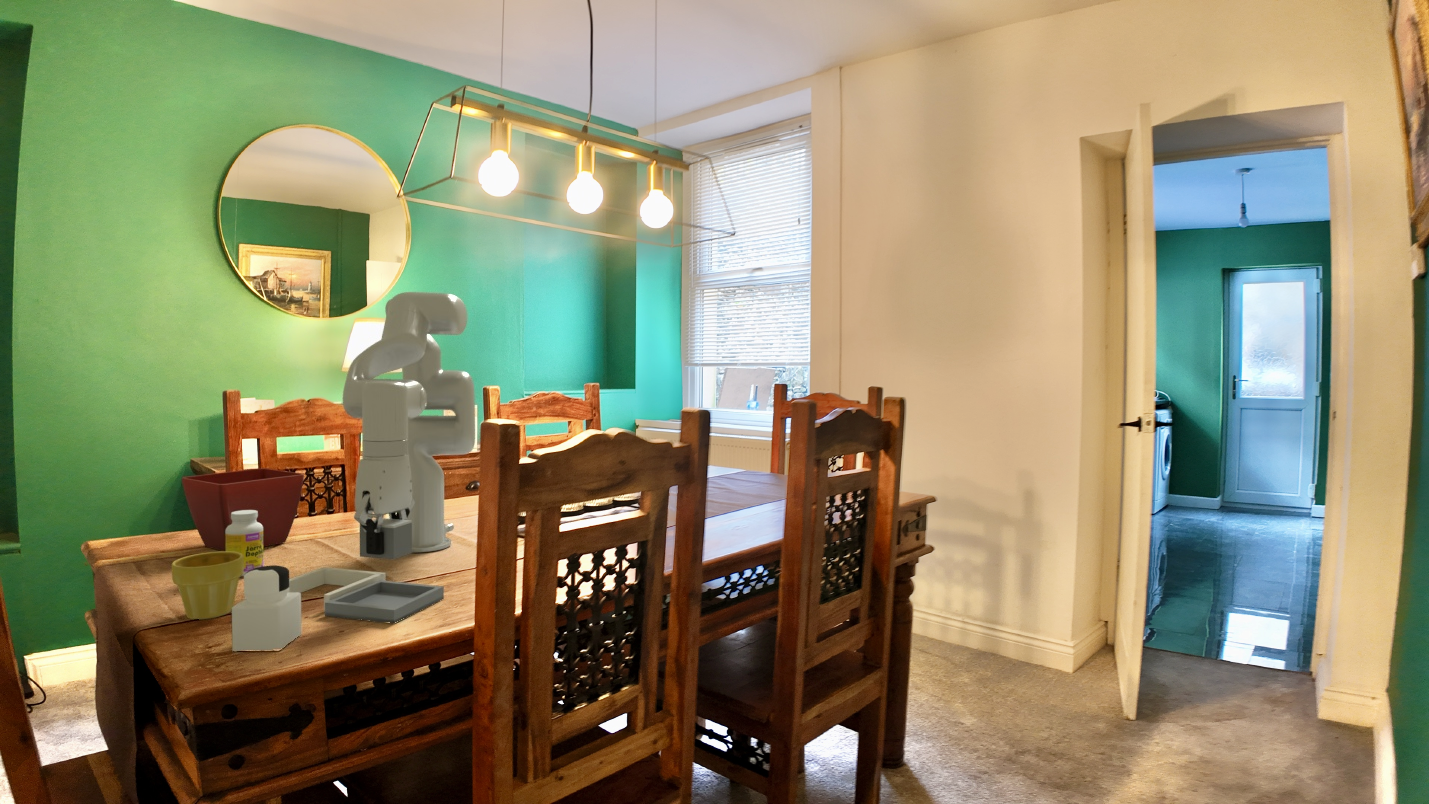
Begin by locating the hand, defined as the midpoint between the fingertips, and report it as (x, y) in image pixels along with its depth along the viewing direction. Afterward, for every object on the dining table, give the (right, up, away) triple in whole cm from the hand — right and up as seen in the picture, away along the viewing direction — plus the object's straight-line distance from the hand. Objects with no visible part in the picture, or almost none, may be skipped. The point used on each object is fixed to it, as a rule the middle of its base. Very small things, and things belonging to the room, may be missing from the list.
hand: (386, 549), depth 133 cm
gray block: (0, -1, 0) cm, 1 cm away
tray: (0, -11, +1) cm, 11 cm away
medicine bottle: (-11, -12, -17) cm, 23 cm away
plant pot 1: (-53, -8, +44) cm, 69 cm away
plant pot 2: (-29, -11, -4) cm, 31 cm away
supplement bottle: (-38, -9, +21) cm, 45 cm away
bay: (-14, -10, +6) cm, 19 cm away
